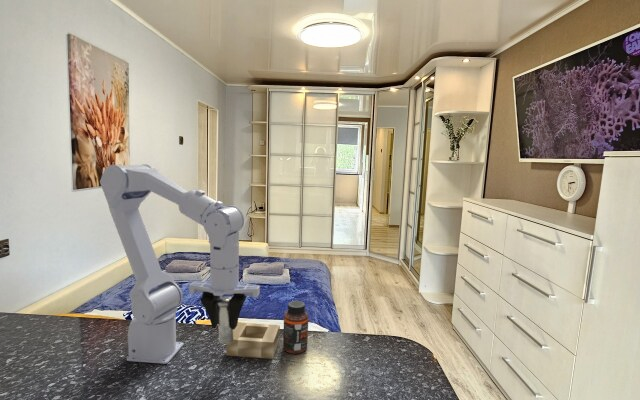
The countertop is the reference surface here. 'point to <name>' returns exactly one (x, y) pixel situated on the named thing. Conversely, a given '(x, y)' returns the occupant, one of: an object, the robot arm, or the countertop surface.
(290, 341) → the supplement bottle
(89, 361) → the countertop surface
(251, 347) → the hole block
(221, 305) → the pin
